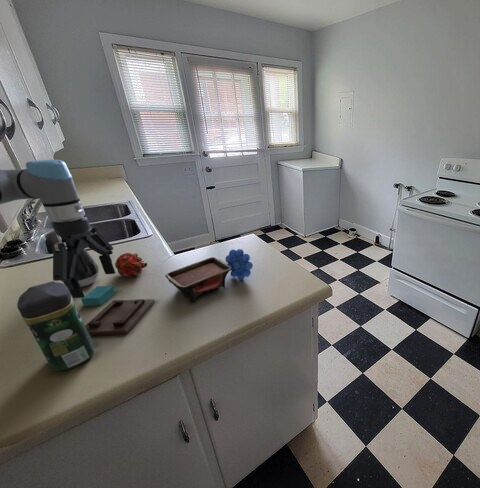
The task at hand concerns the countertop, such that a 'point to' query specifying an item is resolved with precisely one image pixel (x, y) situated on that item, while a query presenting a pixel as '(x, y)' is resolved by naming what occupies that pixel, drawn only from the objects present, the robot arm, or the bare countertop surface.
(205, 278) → the rectangular planter
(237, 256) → the blue lumpy round piece
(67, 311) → the coffee jar
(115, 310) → the back plate
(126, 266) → the dragon fruit
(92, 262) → the black rounded piece
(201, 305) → the countertop surface
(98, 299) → the pad
